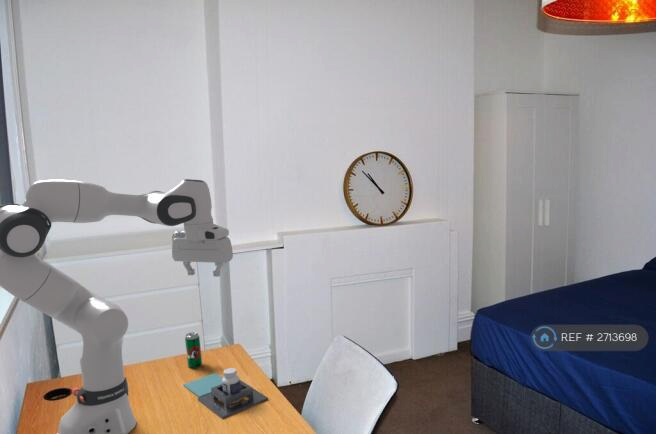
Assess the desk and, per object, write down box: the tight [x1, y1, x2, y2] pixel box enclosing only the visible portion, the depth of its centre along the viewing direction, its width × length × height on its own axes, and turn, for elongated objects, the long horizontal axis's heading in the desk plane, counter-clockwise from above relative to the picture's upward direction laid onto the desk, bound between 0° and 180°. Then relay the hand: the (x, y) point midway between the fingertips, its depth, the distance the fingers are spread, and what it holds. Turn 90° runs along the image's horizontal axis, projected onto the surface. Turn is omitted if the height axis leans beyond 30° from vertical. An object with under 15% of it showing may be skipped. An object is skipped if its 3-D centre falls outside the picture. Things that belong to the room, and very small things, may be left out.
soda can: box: [184, 331, 203, 369], centre depth 195 cm, size 5×5×12 cm
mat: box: [182, 372, 224, 398], centre depth 179 cm, size 12×12×1 cm
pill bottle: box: [222, 367, 242, 405], centre depth 168 cm, size 5×5×10 cm
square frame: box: [197, 379, 269, 420], centre depth 168 cm, size 16×16×4 cm
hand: (204, 275), depth 166 cm, fingers open, 8 cm apart
